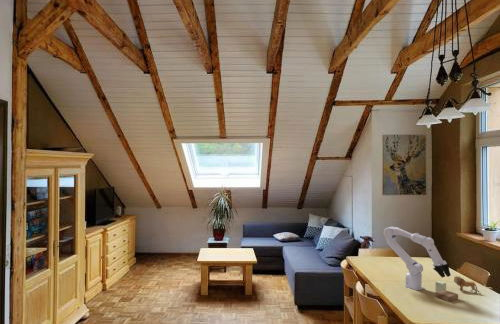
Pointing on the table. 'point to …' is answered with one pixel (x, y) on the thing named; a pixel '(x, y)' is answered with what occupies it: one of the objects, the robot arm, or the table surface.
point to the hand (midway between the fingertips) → (446, 276)
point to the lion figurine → (465, 284)
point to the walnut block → (446, 295)
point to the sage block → (440, 286)
